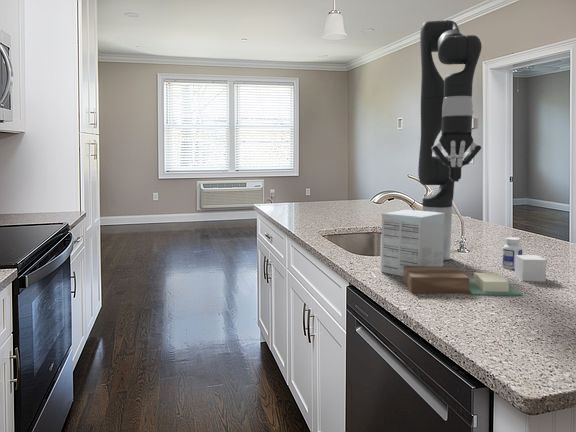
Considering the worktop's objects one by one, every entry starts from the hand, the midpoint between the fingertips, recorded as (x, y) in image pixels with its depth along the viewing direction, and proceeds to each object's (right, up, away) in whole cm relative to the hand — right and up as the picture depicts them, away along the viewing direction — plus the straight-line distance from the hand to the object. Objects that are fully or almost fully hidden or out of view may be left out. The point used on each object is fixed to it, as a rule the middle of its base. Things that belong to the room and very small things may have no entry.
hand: (454, 181), depth 132 cm
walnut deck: (-6, -28, -3) cm, 29 cm away
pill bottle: (+23, -25, +18) cm, 38 cm away
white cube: (+22, -27, +5) cm, 35 cm away
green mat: (+7, -28, -4) cm, 29 cm away
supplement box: (-8, -26, +13) cm, 30 cm away
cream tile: (+8, -25, -5) cm, 27 cm away
